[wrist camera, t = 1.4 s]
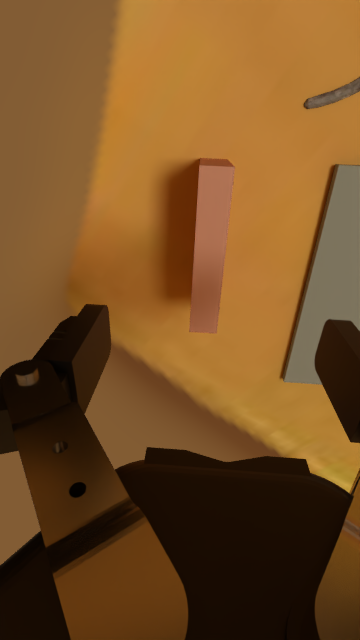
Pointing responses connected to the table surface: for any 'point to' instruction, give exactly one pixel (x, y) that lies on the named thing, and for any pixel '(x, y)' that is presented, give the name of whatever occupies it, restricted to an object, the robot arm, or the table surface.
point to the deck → (210, 242)
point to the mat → (329, 275)
